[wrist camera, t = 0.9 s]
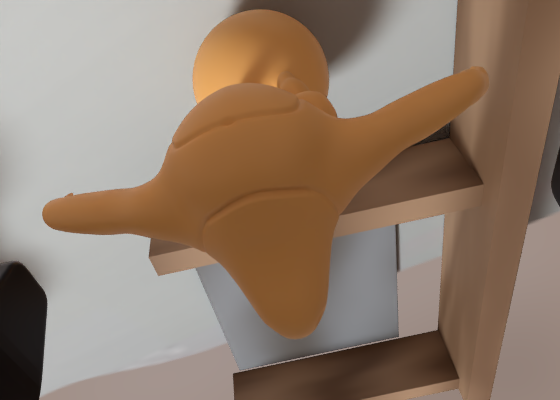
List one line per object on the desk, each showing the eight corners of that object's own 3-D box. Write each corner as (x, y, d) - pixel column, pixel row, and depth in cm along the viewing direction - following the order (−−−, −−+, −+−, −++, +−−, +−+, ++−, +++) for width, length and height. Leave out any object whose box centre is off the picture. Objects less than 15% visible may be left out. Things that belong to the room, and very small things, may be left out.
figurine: (162, 141, 17) (117, 522, 8) (71, -30, 14) (-208, 320, 4) (387, 69, 17) (615, 396, 7) (356, -132, 13) (748, 25, 4)
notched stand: (533, -371, 11) (670, -443, 7) (457, 335, 28) (489, 401, 25) (-44, -235, 11) (-143, -250, 8) (237, 382, 28) (241, 453, 25)
